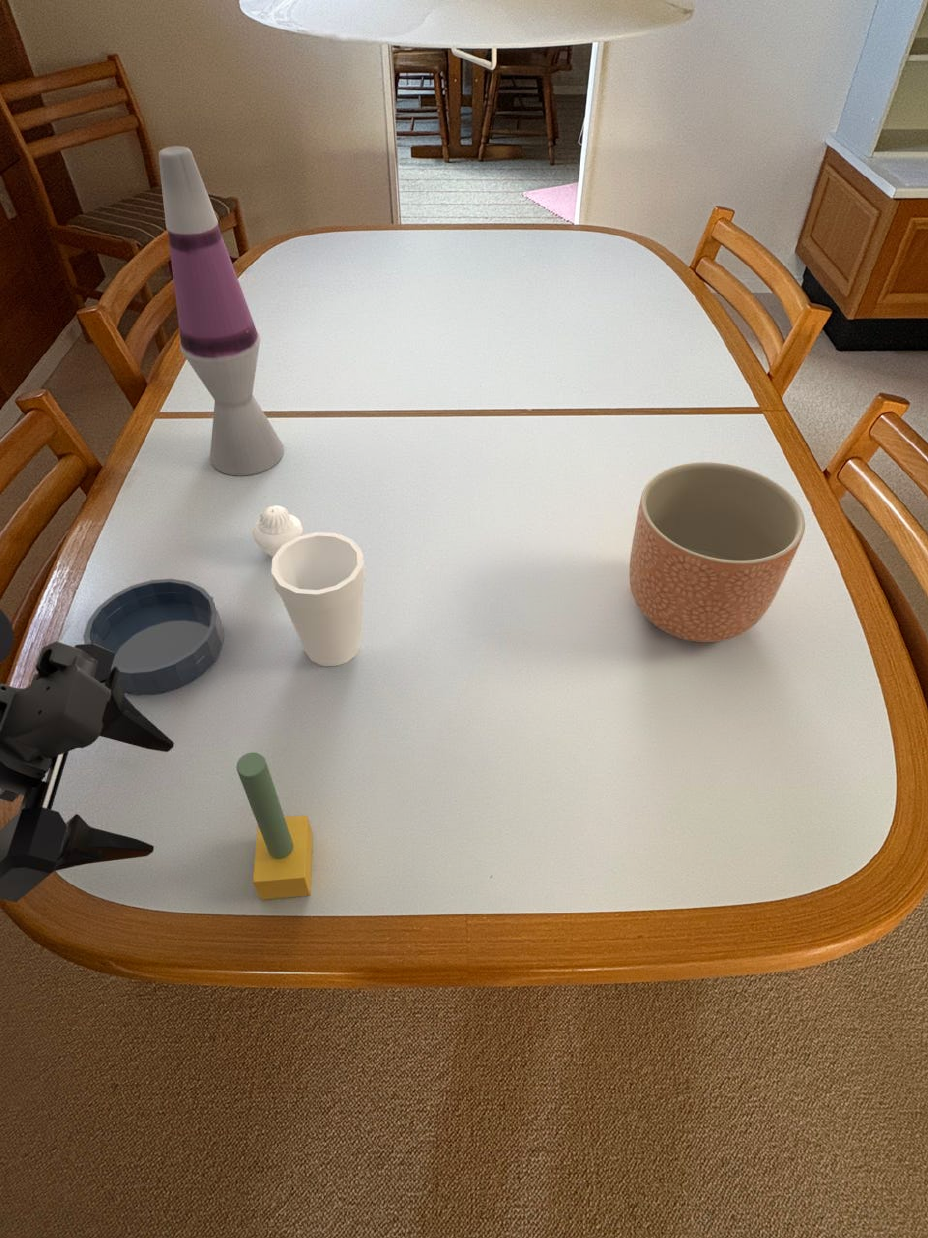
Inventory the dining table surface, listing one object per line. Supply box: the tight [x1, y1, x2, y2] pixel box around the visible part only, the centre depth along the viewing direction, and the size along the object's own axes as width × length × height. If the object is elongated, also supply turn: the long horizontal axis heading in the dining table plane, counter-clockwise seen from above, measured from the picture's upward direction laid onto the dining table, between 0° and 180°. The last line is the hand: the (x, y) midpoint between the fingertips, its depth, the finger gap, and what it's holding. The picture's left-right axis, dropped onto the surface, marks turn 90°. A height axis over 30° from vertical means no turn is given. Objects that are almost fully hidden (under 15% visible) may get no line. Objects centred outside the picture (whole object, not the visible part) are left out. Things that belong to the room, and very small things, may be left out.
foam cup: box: [270, 531, 366, 667], centre depth 85 cm, size 10×9×13 cm
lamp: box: [158, 145, 285, 477], centre depth 101 cm, size 11×11×40 cm
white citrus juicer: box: [252, 505, 304, 558], centre depth 98 cm, size 6×6×7 cm
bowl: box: [82, 578, 225, 696], centre depth 89 cm, size 14×14×4 cm
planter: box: [628, 461, 806, 643], centre depth 89 cm, size 17×17×15 cm
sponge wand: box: [235, 751, 314, 901], centre depth 65 cm, size 4×6×17 cm
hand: (161, 797), depth 61 cm, fingers open, 9 cm apart
